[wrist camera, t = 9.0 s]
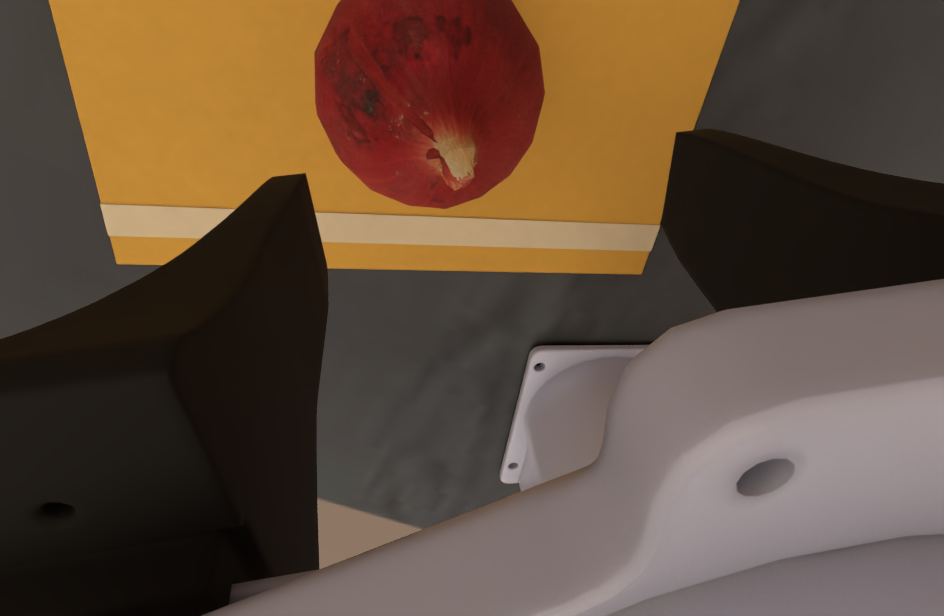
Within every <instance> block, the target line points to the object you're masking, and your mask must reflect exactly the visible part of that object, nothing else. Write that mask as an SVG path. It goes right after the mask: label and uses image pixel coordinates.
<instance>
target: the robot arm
mask: <svg viewBox="0 0 944 616" xmlns="http://www.w3.org/2000/svg"><path fill="white" fill-rule="evenodd" d="M661 225H662V227H663V229H664V231H665V233H666V235H667V238H668V240H669V242H670V244H671V246H672V248H673V250H674V251H675V253H676V255H677V257H678V259H679V261H680V262H681V264H682V265H683V266H684V268H685V269H686V271H687V272H688V273H689V275H690V276H691V278H692V279H693V280H694V282H695V283H696V285H697V286H698V287H699V289H700V290H701V291H702V293H703V294H704V295H705V297H706V298H707V299H708V301H709V302H710V303H711V305H712V306H713V307H714V309H715V310H716V311H717V312H716V313H713V314H710V315H707V316H705V317H702V318H699V319H696V320H693V321H690V322H687V323H684V324H681V325H678V326H675V327H672V328H670V329H669V330H667V331H666V332H665V333H664V334H662V335H661V336H660V337H659V338H658V339H656V340H655V341H654V342H653V343H651V344H650V345H542V346H537V347H535V348H533V349H532V350H531V351H530V353H529V357H528V361H527V365H526V369H525V373H524V377H523V381H522V385H521V389H520V393H519V397H518V401H517V405H516V409H515V413H514V417H513V421H512V425H511V429H510V433H509V437H508V441H507V445H506V449H505V453H504V457H503V461H502V465H501V469H500V479H501V481H502V482H504V483H519V485H520V489H521V492H518V493H516V494H513V495H511V496H508V497H506V498H503V499H500V500H498V501H495V502H493V503H490V504H487V505H485V506H482V507H480V508H477V509H475V510H472V511H469V512H467V513H464V514H462V515H459V516H457V517H454V518H451V519H449V520H446V521H444V522H441V523H439V524H436V525H433V526H431V527H428V528H426V529H423V530H420V531H418V532H416V533H413V534H410V535H408V536H405V537H402V538H400V539H397V540H395V541H393V542H390V543H387V544H384V545H382V546H379V547H377V548H374V549H372V550H369V551H366V552H364V553H361V554H359V555H356V556H354V557H351V558H348V559H346V560H343V561H341V562H338V563H336V564H333V565H330V566H328V567H325V568H323V569H319V546H318V514H317V452H316V415H317V400H318V389H319V381H320V373H321V365H322V357H323V349H324V340H325V332H326V323H327V314H328V274H327V262H326V258H325V254H324V249H323V245H322V241H321V236H320V232H319V228H318V223H317V219H316V215H315V211H314V206H313V202H312V198H311V193H310V189H309V185H308V181H307V176H306V173H302V174H293V175H284V176H275V177H271V178H270V179H268V180H267V181H266V182H265V183H264V184H262V185H261V186H260V187H259V188H258V189H257V190H256V191H255V192H254V193H253V194H251V195H250V196H249V197H248V198H247V199H246V200H245V201H244V202H243V203H242V204H241V205H240V206H239V207H237V208H236V209H235V210H234V211H233V212H232V213H231V214H230V215H229V216H228V217H227V218H225V219H224V220H223V221H222V222H221V223H219V224H218V225H217V226H216V227H214V228H213V229H212V230H211V231H210V232H208V233H207V234H206V235H205V236H203V237H202V238H201V239H200V240H198V241H197V242H196V243H195V244H193V245H192V246H191V247H189V248H188V249H187V250H185V251H184V252H183V253H181V254H180V255H178V256H177V257H175V258H174V259H172V260H171V261H169V262H168V263H166V264H164V265H163V266H161V267H160V268H158V269H156V270H155V271H153V272H152V273H150V274H148V275H147V276H145V277H143V278H141V279H139V280H137V281H136V282H134V283H132V284H130V285H128V286H126V287H124V288H122V289H120V290H118V291H116V292H114V293H112V294H110V295H108V296H106V297H104V298H103V299H101V300H99V301H97V302H94V303H92V304H90V305H88V306H86V307H83V308H81V309H79V310H76V311H74V312H72V313H69V314H67V315H65V316H62V317H60V318H57V319H55V320H52V321H50V322H47V323H45V324H42V325H39V326H37V327H34V328H32V329H29V330H26V331H23V332H21V333H18V334H15V335H12V336H9V337H6V338H3V339H0V616H944V184H941V183H934V182H927V181H921V180H915V179H910V178H904V177H899V176H893V175H888V174H882V173H878V172H873V171H868V170H864V169H859V168H855V167H851V166H848V165H844V164H840V163H836V162H832V161H828V160H824V159H820V158H817V157H813V156H810V155H806V154H803V153H799V152H796V151H792V150H789V149H786V148H782V147H779V146H776V145H772V144H769V143H765V142H762V141H759V140H755V139H752V138H748V137H745V136H741V135H737V134H733V133H729V132H724V131H719V130H712V129H700V130H691V131H682V132H676V136H675V142H674V148H673V154H672V160H671V166H670V172H669V177H668V183H667V189H666V195H665V201H664V207H663V213H662V219H661ZM538 363H542V364H540V365H537V366H535V365H536V364H538Z"/></svg>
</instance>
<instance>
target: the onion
mask: <svg viewBox="0 0 944 616" xmlns="http://www.w3.org/2000/svg"><path fill="white" fill-rule="evenodd" d="M314 60H315V104H316V111H317V116H318V118H319V120H320V122H321V124H322V126H323V128H324V130H325V132H326V134H327V136H328V138H329V140H330V142H331V144H332V146H333V148H334V151H335V153H336V154H337V156H338V157H339V159H340V160H341V161H342V163H343V164H344V165H345V166H346V167H347V168H348V169H349V170H350V171H352V172H353V173H354V174H355V175H356V176H357V177H358V178H359V179H360V180H361V181H362V182H363V183H364V184H365V185H366V186H367V187H368V188H369V189H370V190H372V191H374V192H377V193H379V194H382V195H384V196H386V197H389V198H391V199H394V200H396V201H398V202H401V203H403V204H406V205H409V206H417V207H430V208H440V209H448V208H450V207H453V206H456V205H459V204H462V203H465V202H468V201H471V200H474V199H477V198H480V197H482V196H483V195H484V194H486V193H487V192H488V191H490V190H491V189H492V188H494V187H495V186H496V185H498V184H499V183H500V182H502V181H503V180H504V179H506V178H507V177H508V176H510V175H511V173H512V172H513V171H514V169H515V168H516V166H517V165H518V163H519V162H520V160H521V159H522V157H523V156H524V155H525V153H526V152H527V150H528V149H529V147H530V146H531V144H532V143H533V139H534V135H535V131H536V127H537V123H538V119H539V116H540V112H541V108H542V104H543V100H544V96H545V89H544V81H543V73H542V65H541V57H540V49H539V45H538V44H537V42H536V40H535V38H534V37H533V35H532V33H531V32H530V30H529V28H528V27H527V25H526V23H525V22H524V20H523V18H522V17H521V15H520V13H519V12H518V10H517V8H516V7H515V5H514V3H513V2H512V0H341V1H340V2H339V3H338V4H337V6H336V8H335V10H334V12H333V14H332V16H331V19H330V21H329V23H328V25H327V27H326V29H325V31H324V33H323V35H322V37H321V39H320V42H319V44H318V46H317V48H316V50H315V52H314Z"/></svg>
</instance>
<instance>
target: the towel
mask: <svg viewBox="0 0 944 616" xmlns="http://www.w3.org/2000/svg"><path fill="white" fill-rule="evenodd" d="M340 1H341V0H49V3H50V7H51V11H52V15H53V19H54V22H55V26H56V30H57V34H58V38H59V42H60V46H61V49H62V53H63V57H64V61H65V65H66V69H67V73H68V77H69V80H70V84H71V88H72V92H73V96H74V100H75V104H76V108H77V111H78V115H79V119H80V123H81V127H82V131H83V135H84V138H85V142H86V146H87V150H88V154H89V158H90V162H91V166H92V169H93V173H94V177H95V181H96V185H97V189H98V193H99V197H100V200H101V204H100V206H101V210H102V213H103V217H104V221H105V225H106V229H107V233H108V236H110V239H111V243H112V247H113V251H114V255H115V258H116V262H117V264H139V265H164V264H166V263H168V262H169V261H171V260H172V259H174V258H175V257H177V256H178V255H180V254H181V253H183V252H184V251H185V250H187V249H188V248H189V247H191V246H192V245H193V244H195V243H196V242H197V241H198V240H200V239H201V238H202V237H203V236H205V235H206V234H207V233H208V232H210V231H211V230H212V229H213V228H214V227H216V226H217V225H218V224H219V223H221V222H222V221H223V220H224V219H225V218H227V217H228V216H229V215H230V214H231V213H232V212H233V211H234V210H235V209H236V208H237V207H239V206H240V205H241V204H242V203H243V202H244V201H245V200H246V199H247V198H248V197H249V196H250V195H251V194H253V193H254V192H255V191H256V190H257V189H258V188H259V187H260V186H261V185H262V184H264V183H265V182H266V181H267V180H268V179H270V178H271V177H275V176H284V175H293V174H302V173H306V176H307V181H308V185H309V189H310V193H311V198H312V202H313V206H314V211H315V215H316V219H317V223H318V228H319V232H320V236H321V241H322V245H323V249H324V254H325V258H326V262H327V268H340V269H390V270H440V271H491V272H541V273H591V274H642V272H643V269H644V266H645V263H646V260H647V258H648V255H649V252H650V251H651V250H652V247H653V245H654V242H655V239H656V236H657V234H658V231H659V228H660V225H659V224H660V221H661V219H662V213H663V207H664V201H665V195H666V189H667V183H668V177H669V172H670V166H671V160H672V154H673V148H674V142H675V136H676V132H682V131H691V130H693V129H694V127H695V124H696V121H697V118H698V115H699V113H700V110H701V107H702V104H703V102H704V99H705V96H706V93H707V90H708V88H709V85H710V82H711V79H712V76H713V74H714V71H715V68H716V65H717V63H718V60H719V57H720V54H721V51H722V49H723V46H724V43H725V40H726V37H727V35H728V32H729V29H730V26H731V23H732V21H733V18H734V15H735V12H736V10H737V7H738V4H739V1H740V0H512V2H513V3H514V5H515V7H516V8H517V10H518V12H519V13H520V15H521V17H522V18H523V20H524V22H525V23H526V25H527V27H528V28H529V30H530V32H531V33H532V35H533V37H534V38H535V40H536V42H537V44H538V45H539V49H540V57H541V65H542V73H543V81H544V89H545V96H544V100H543V104H542V108H541V112H540V116H539V119H538V123H537V127H536V131H535V135H534V139H533V143H532V144H531V146H530V147H529V149H528V150H527V152H526V153H525V155H524V156H523V157H522V159H521V160H520V162H519V163H518V165H517V166H516V168H515V169H514V171H513V172H512V173H511V175H510V176H508V177H507V178H506V179H504V180H503V181H502V182H500V183H499V184H498V185H496V186H495V187H494V188H492V189H491V190H490V191H488V192H487V193H486V194H484V195H483V196H482V197H480V198H477V199H474V200H471V201H468V202H465V203H462V204H459V205H456V206H453V207H450V208H448V209H440V208H430V207H417V206H409V205H406V204H403V203H401V202H398V201H396V200H394V199H391V198H389V197H386V196H384V195H382V194H379V193H377V192H374V191H372V190H370V189H369V188H368V187H367V186H366V185H365V184H364V183H363V182H362V181H361V180H360V179H359V178H358V177H357V176H356V175H355V174H354V173H353V172H352V171H350V170H349V169H348V168H347V167H346V166H345V165H344V164H343V163H342V161H341V160H340V159H339V157H338V156H337V154H336V153H335V151H334V148H333V146H332V144H331V142H330V140H329V138H328V136H327V134H326V132H325V130H324V128H323V126H322V124H321V122H320V120H319V118H318V116H317V111H316V104H315V60H314V52H315V50H316V48H317V46H318V44H319V42H320V39H321V37H322V35H323V33H324V31H325V29H326V27H327V25H328V23H329V21H330V19H331V16H332V14H333V12H334V10H335V8H336V6H337V4H338V3H339V2H340Z"/></svg>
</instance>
